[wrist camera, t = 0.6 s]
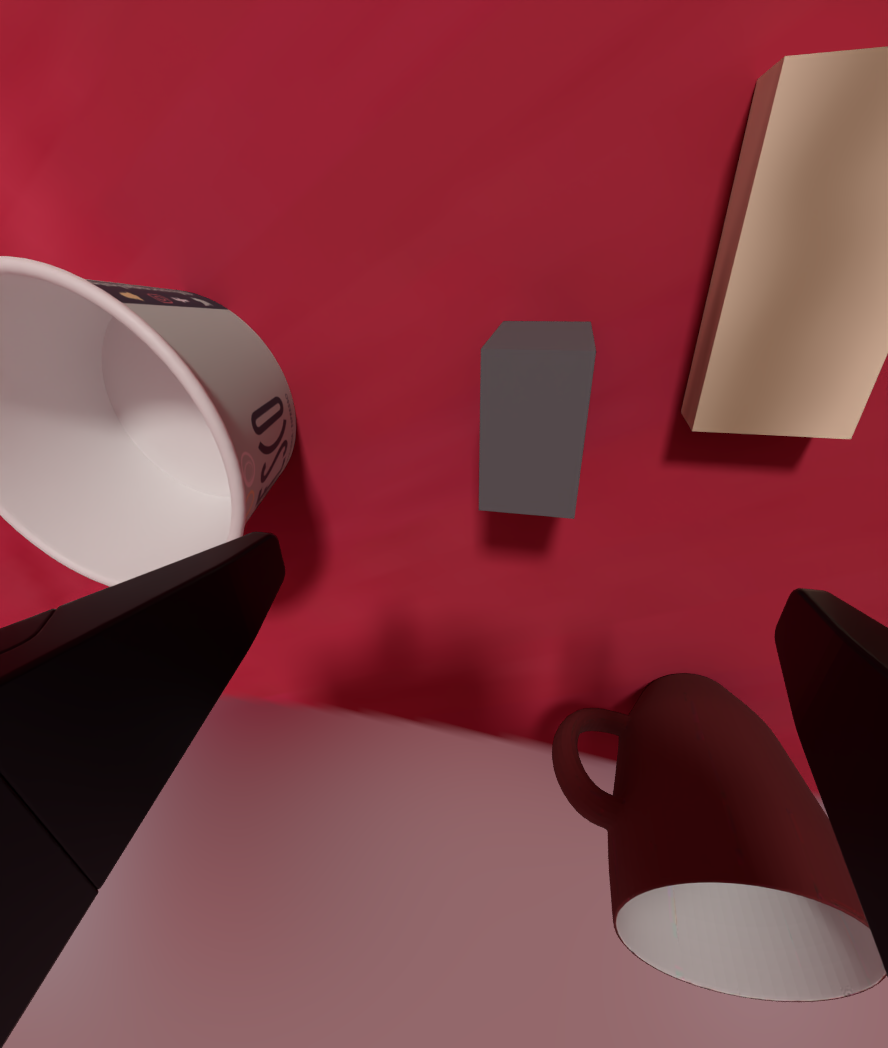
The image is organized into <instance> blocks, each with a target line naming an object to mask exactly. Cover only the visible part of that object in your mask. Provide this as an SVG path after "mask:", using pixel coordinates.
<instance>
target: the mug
mask: <svg viewBox="0 0 888 1048" xmlns="http://www.w3.org/2000/svg"><path fill="white" fill-rule="evenodd" d="M585 731H601V732H607V733H611V734H615V735H618V736H619V746H618V755H617V765H616V774H615V775H616V776H615V782H614V791H613V795H611V794H608V793H606V792H605V791H603V790H601V789H600V788H599V787H598V786H596V785H595V784H594V782H593V781H592V780H591V779H590V778H589V776H588V775H587V773H586V772H585V770H584V768H583V766H582V764H581V761H580V758H579V754H578V749H577V742H578V737H579V735H580V733H582V732H585ZM552 760H553V765H554V766H553V767H554V771H555V774H556V778H557V780H558V783H559V785H560V787H561V789H562V791H563V793H564V795H565V796H566V798H567V799H568V801H569V802H570V804H571V805H572V806H573V807H574V808H575V809H576V811H577V812H578V813H579V814H581V815H582V816H583V817H584V818H586V819H587V820H589V821H590V822H592V823H594V824H596V825H598V826H600V827H603V828H605V829H606V830H607V831H608V859H609V876H610V889H611V902H612V914H613V923H614V928H615V931H616V933H617V935H618V937H619V939H620V940H621V941H622V943H623V944H624V945H625V946H626V947H627V948H628V949H629V950H630V951H631V952H632V953H633V954H634V955H635V956H637V957H638V958H639V959H641V960H642V961H644V962H645V963H647V964H648V965H650V966H652V967H653V968H655V969H657V970H659V971H661V972H663V973H665V974H667V975H669V976H671V977H674V978H676V979H679V980H681V981H684V982H686V983H689V984H693V985H695V986H699V987H701V988H705V989H708V990H712V991H716V992H720V993H724V994H729V995H734V996H739V997H745V998H751V999H759V1000H769V1001H781V1002H813V1001H825V1000H833V999H838V998H843V997H847V996H851V995H855V994H858V993H861V992H864V991H866V990H868V989H870V988H872V987H874V986H875V985H877V984H879V983H880V982H881V981H882V980H883V979H884V978H885V977H886V976H887V974H886V971H885V969H884V966H883V963H882V960H881V958H880V955H879V952H878V950H877V947H876V944H875V942H874V939H873V936H872V933H871V931H870V928H869V925H868V923H867V920H866V917H865V915H864V912H863V909H862V906H861V904H860V901H859V898H858V896H857V893H856V890H855V888H854V885H853V882H852V879H851V877H850V874H849V871H848V869H847V866H846V863H845V861H844V858H843V855H842V852H841V850H840V847H839V844H838V842H837V839H836V836H835V834H834V831H833V828H832V825H831V823H830V820H829V819H828V817H827V815H826V814H825V812H824V811H823V809H822V808H821V806H820V805H819V803H818V801H817V800H816V798H815V797H814V795H813V794H812V792H811V790H810V789H809V787H808V786H807V784H806V783H805V781H804V780H803V778H802V776H801V775H800V773H799V772H798V770H797V769H796V767H795V765H794V764H793V762H792V761H791V759H790V758H789V756H788V755H787V753H786V751H785V750H784V748H783V747H782V745H781V744H780V742H779V741H778V739H777V738H776V736H775V735H774V733H773V732H772V731H771V729H770V728H769V727H768V726H767V725H766V723H765V722H764V721H763V720H762V719H761V718H760V717H759V716H758V715H757V714H756V713H755V712H753V711H752V710H751V709H750V708H749V707H748V706H747V705H745V704H744V703H743V702H742V701H740V700H739V699H738V698H737V697H735V696H734V695H733V694H732V693H730V692H729V691H728V690H727V689H725V688H724V687H723V686H721V685H720V684H719V683H717V682H715V681H713V680H712V679H709V678H707V677H704V676H700V675H696V674H684V673H682V674H673V675H667V676H664V677H661V678H659V679H657V680H655V681H654V682H652V683H651V684H650V685H649V686H648V687H647V688H646V689H645V690H644V691H643V693H642V695H641V696H640V698H639V699H638V701H637V702H636V704H635V706H634V707H633V709H632V710H631V712H630V713H629V715H625V714H621V713H618V712H614V711H610V710H605V709H599V708H586V709H581V710H578V711H576V712H574V713H572V714H571V715H569V716H568V717H567V718H566V719H565V720H564V721H563V722H562V723H561V724H560V726H559V728H558V730H557V732H556V734H555V737H554V741H553V747H552Z"/></svg>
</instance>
